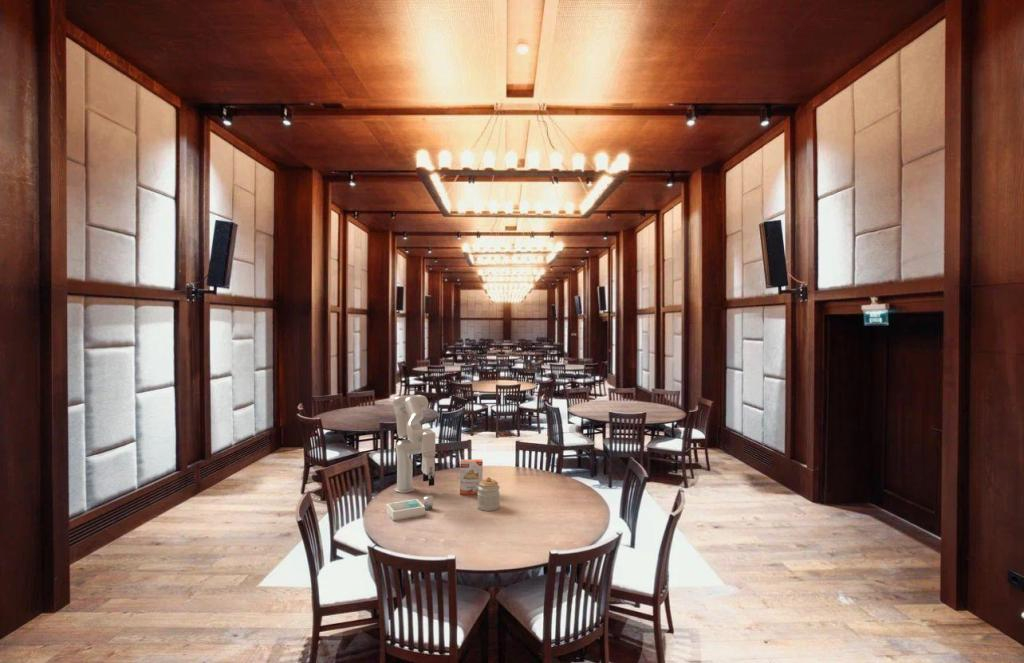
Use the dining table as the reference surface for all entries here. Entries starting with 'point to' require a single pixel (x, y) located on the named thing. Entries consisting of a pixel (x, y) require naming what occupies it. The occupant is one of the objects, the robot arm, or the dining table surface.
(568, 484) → the dining table surface
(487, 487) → the jar
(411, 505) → the teal cube
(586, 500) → the dining table surface
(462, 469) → the cracker box
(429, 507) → the steel cylinder
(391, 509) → the tote
